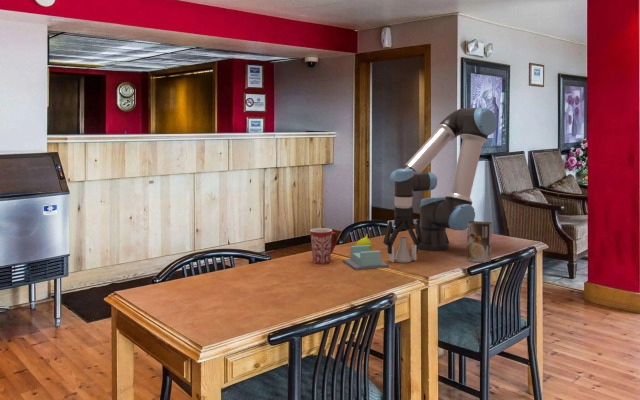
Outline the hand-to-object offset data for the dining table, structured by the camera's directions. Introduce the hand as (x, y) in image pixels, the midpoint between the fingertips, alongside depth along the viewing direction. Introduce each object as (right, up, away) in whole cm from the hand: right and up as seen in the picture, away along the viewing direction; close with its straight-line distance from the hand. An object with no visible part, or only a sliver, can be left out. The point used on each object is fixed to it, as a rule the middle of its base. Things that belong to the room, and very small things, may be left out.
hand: (402, 260), depth 231 cm
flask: (0, 0, 0) cm, 0 cm away
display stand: (-16, -1, -6) cm, 17 cm away
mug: (-32, -1, 0) cm, 32 cm away
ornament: (-15, +1, +12) cm, 19 cm away
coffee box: (+31, 0, 0) cm, 31 cm away
